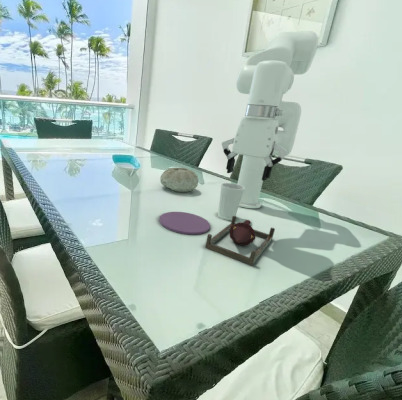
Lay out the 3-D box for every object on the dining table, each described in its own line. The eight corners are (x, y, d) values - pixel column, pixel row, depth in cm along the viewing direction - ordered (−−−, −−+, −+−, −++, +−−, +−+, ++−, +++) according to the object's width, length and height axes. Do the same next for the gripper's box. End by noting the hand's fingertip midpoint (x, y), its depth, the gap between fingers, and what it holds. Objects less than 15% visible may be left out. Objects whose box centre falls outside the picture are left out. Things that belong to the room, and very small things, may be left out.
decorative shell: (170, 196, 120) (173, 174, 117) (152, 184, 135) (155, 164, 132) (204, 194, 126) (207, 173, 123) (183, 183, 142) (186, 164, 139)
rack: (230, 226, 94) (233, 215, 92) (272, 239, 86) (275, 228, 85) (204, 247, 78) (207, 234, 77) (252, 266, 70) (255, 252, 69)
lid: (175, 210, 104) (175, 208, 104) (217, 224, 94) (218, 222, 94) (149, 222, 92) (149, 220, 91) (195, 240, 82) (195, 237, 81)
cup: (241, 217, 102) (248, 187, 98) (232, 223, 96) (239, 190, 92) (220, 211, 107) (227, 181, 103) (211, 215, 101) (217, 185, 97)
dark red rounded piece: (258, 237, 72) (262, 223, 84) (231, 223, 74) (239, 212, 87) (245, 258, 74) (251, 241, 87) (220, 244, 77) (229, 230, 90)
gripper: (300, 116, 70) (282, 181, 75) (233, 111, 80) (222, 168, 85) (294, 115, 64) (276, 185, 70) (223, 110, 74) (212, 171, 80)
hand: (246, 176), depth 77 cm, fingers open, 9 cm apart
